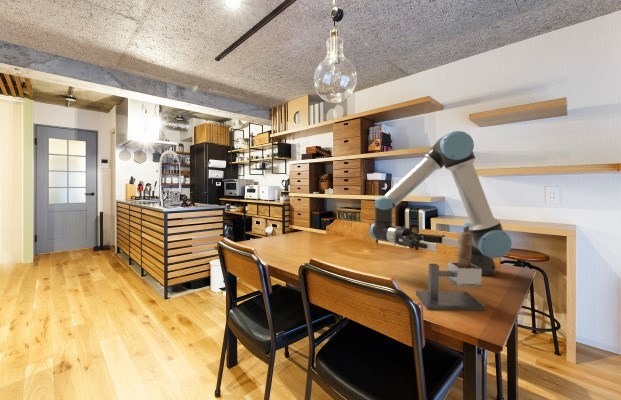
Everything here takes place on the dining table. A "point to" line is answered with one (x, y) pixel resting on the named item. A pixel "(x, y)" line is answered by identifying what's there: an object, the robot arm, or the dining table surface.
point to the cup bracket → (452, 299)
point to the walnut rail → (464, 250)
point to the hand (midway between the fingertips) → (448, 245)
